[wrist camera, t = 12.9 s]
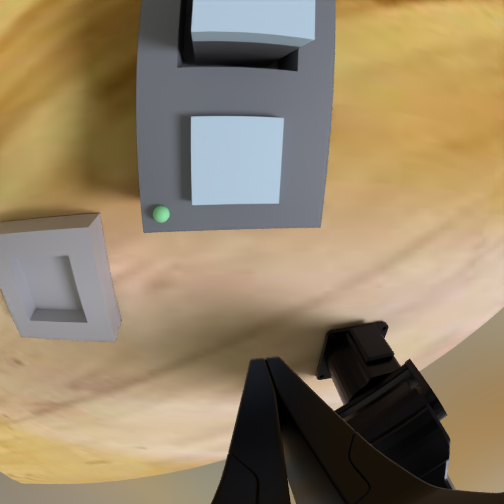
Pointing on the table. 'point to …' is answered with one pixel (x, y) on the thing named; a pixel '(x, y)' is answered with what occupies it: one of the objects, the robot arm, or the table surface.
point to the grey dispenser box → (230, 129)
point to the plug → (250, 30)
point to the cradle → (58, 278)
